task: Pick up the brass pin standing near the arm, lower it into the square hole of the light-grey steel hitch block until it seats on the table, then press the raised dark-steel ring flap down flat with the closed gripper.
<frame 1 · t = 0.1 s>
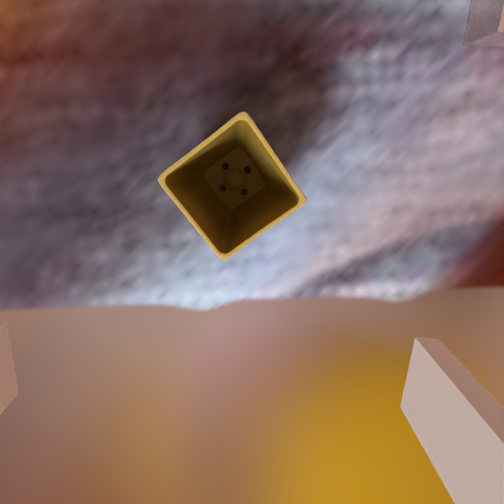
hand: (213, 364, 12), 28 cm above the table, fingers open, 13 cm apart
flower pot: (235, 177, 38), on the table
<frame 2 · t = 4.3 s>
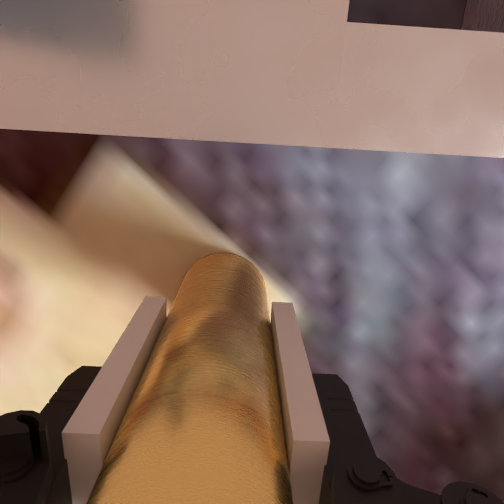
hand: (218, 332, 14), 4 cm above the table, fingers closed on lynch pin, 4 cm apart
lynch pin: (223, 293, 17), on the table, touching gripper
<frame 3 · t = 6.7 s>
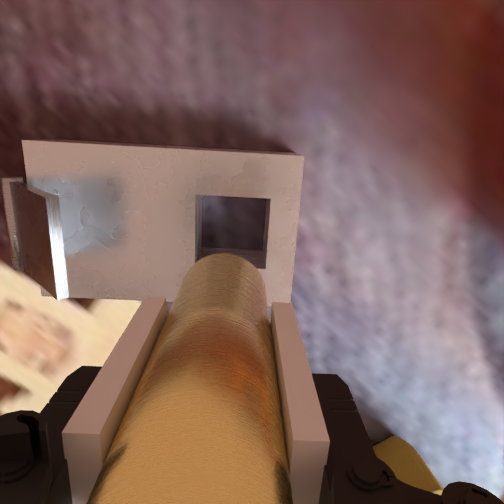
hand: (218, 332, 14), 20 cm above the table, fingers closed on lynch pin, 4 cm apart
hitch block: (177, 215, 33), on the table
flower pot: (383, 456, 42), on the table
ring flap: (34, 234, 25), point 8 cm above the table, hinge at 45.0°
lynch pin: (223, 293, 17), point 16 cm above the table, touching gripper
when the fingers open (7 cm above the table, at t = 9.6 s): lynch pin drops 3 cm, resting in hitch block.
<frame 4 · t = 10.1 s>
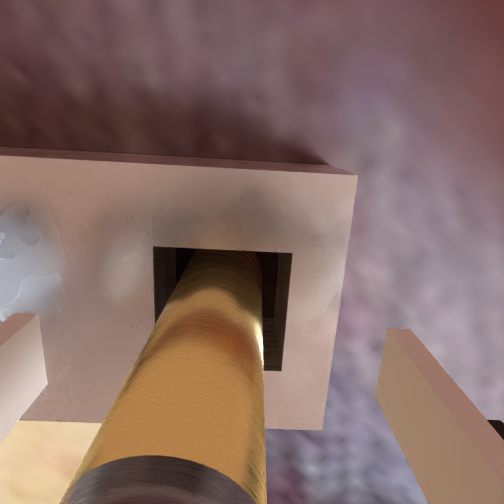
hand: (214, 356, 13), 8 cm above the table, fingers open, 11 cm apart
hitch block: (135, 266, 20), on the table
lynch pin: (225, 271, 20), resting in hitch block
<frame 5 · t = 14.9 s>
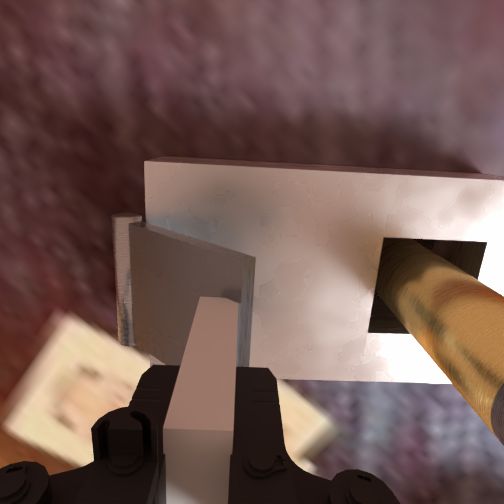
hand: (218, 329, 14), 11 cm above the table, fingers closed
hitch block: (316, 256, 25), on the table
ring flap: (174, 302, 17), point 8 cm above the table, hinge at 42.2°, touching gripper
lynch pin: (388, 260, 25), resting in hitch block
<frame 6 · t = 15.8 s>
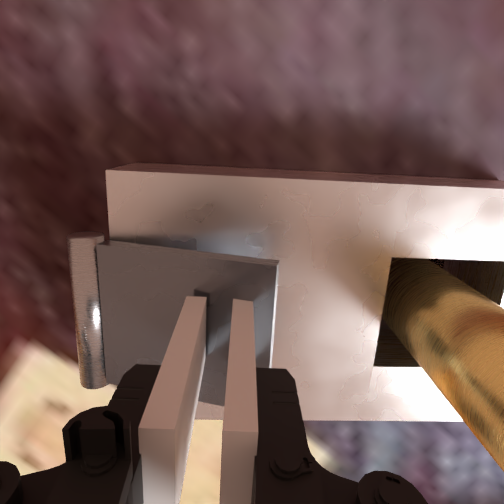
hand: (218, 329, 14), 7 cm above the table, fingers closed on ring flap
hitch block: (312, 275, 22), on the table
ring flap: (169, 324, 15), point 6 cm above the table, hinge at 15.3°, touching gripper
lynch pin: (393, 278, 22), resting in hitch block
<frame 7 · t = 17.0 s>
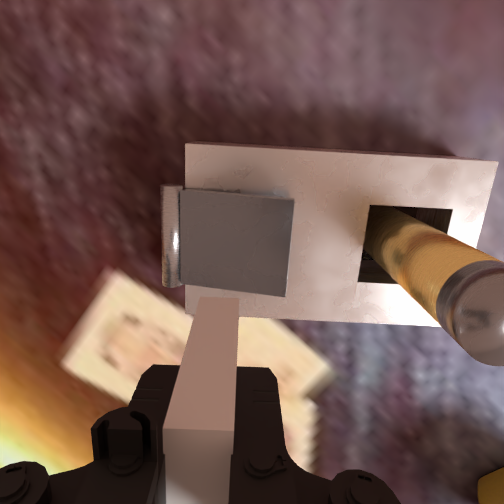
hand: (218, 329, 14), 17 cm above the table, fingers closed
hitch block: (318, 224, 30), on the table
ring flap: (224, 242, 24), point 6 cm above the table, hinge at 10.7°
lynch pin: (378, 228, 30), resting in hitch block
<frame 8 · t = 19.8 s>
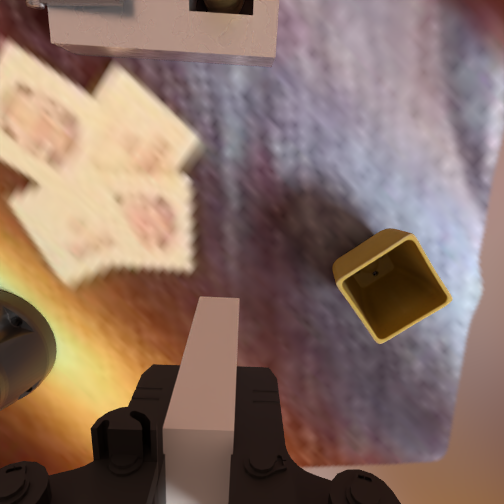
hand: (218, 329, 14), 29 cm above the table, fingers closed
flower pot: (366, 261, 45), on the table
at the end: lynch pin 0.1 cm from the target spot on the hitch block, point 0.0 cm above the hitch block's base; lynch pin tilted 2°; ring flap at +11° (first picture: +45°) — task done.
